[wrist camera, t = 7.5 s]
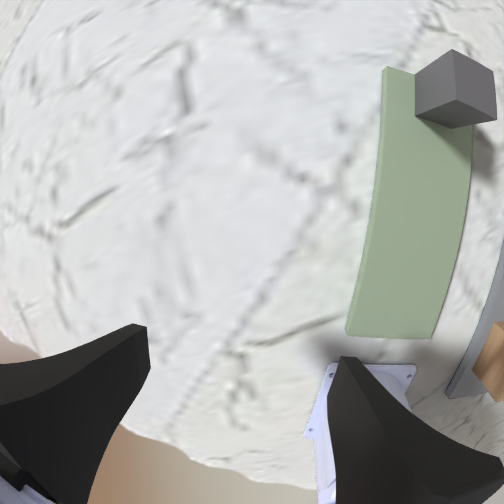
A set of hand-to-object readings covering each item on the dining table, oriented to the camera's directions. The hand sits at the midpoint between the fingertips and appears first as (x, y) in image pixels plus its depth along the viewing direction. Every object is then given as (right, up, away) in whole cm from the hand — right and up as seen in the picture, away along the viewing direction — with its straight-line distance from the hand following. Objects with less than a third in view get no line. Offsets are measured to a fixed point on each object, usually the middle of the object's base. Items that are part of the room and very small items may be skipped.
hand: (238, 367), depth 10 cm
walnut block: (+23, -5, +7) cm, 25 cm away
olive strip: (+12, +7, +7) cm, 15 cm away
